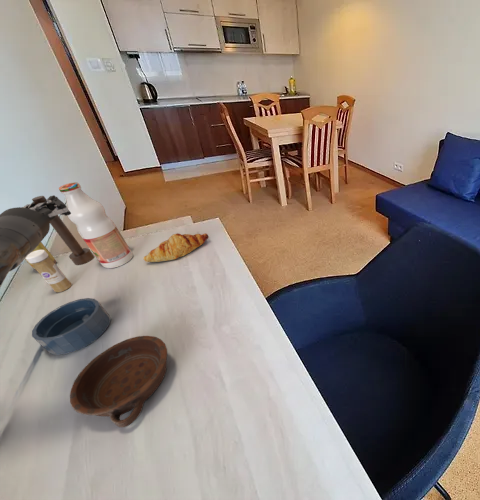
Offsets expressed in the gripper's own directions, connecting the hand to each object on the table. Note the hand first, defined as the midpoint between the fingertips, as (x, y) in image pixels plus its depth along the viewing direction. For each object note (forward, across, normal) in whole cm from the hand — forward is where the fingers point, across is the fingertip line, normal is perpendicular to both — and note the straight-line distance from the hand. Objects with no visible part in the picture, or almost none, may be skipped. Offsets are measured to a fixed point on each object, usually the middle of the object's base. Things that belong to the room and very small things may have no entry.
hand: (48, 200), depth 72 cm
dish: (-36, -9, +31) cm, 49 cm away
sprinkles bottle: (+13, +17, +31) cm, 37 cm away
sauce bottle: (+31, +27, +31) cm, 51 cm away
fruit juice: (+21, +3, +31) cm, 37 cm away
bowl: (-13, +6, +31) cm, 34 cm away
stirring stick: (-3, 0, +16) cm, 16 cm away
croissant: (+15, -17, +31) cm, 38 cm away
